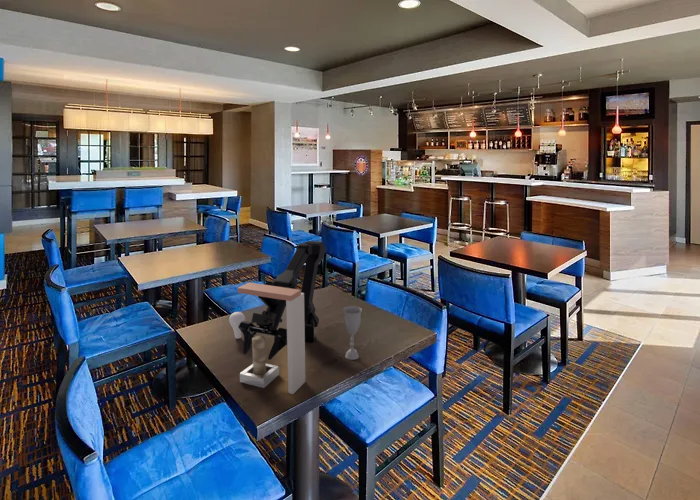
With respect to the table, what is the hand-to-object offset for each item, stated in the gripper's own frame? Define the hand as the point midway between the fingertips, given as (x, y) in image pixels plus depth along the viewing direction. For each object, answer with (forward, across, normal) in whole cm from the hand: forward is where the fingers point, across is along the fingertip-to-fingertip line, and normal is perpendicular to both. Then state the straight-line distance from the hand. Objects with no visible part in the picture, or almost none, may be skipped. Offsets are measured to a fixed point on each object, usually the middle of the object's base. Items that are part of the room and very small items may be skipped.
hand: (256, 356), depth 137 cm
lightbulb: (-11, -25, +23) cm, 36 cm away
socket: (+5, 0, +7) cm, 8 cm away
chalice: (-14, +22, +26) cm, 36 cm away
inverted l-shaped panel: (+5, +5, +7) cm, 10 cm away
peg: (+5, 0, +7) cm, 8 cm away
